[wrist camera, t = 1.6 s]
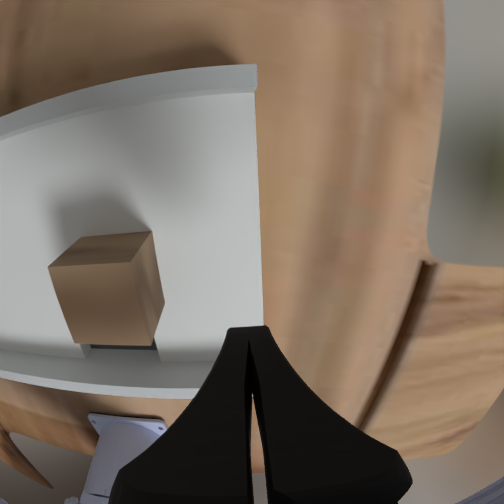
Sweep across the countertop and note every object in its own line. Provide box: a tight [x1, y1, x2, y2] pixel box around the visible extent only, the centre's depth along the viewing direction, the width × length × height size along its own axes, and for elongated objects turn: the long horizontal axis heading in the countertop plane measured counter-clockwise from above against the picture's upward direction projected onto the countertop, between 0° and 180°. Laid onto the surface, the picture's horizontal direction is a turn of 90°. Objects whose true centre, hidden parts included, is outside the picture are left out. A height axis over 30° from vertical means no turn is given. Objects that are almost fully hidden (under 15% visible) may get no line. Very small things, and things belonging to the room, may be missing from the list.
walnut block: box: [48, 231, 165, 346], centre depth 15 cm, size 4×4×4 cm
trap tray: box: [0, 64, 263, 399], centre depth 16 cm, size 18×33×4 cm, turn 93°
